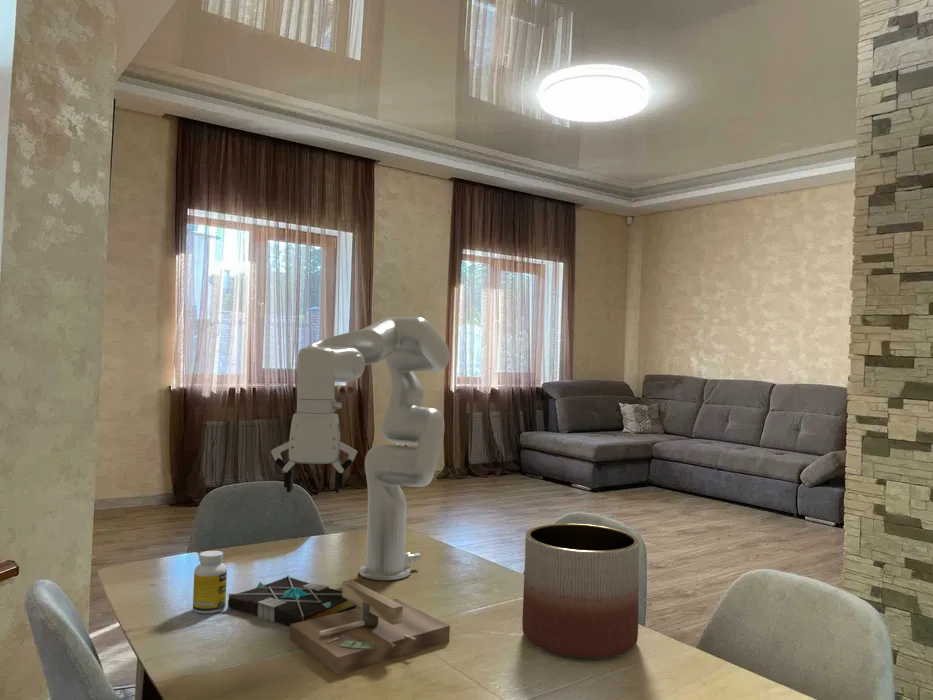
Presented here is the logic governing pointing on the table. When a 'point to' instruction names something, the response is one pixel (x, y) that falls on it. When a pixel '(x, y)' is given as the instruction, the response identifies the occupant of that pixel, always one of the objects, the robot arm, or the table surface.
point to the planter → (581, 590)
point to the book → (290, 601)
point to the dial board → (367, 638)
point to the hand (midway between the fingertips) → (313, 491)
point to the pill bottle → (210, 583)
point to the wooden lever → (368, 607)
